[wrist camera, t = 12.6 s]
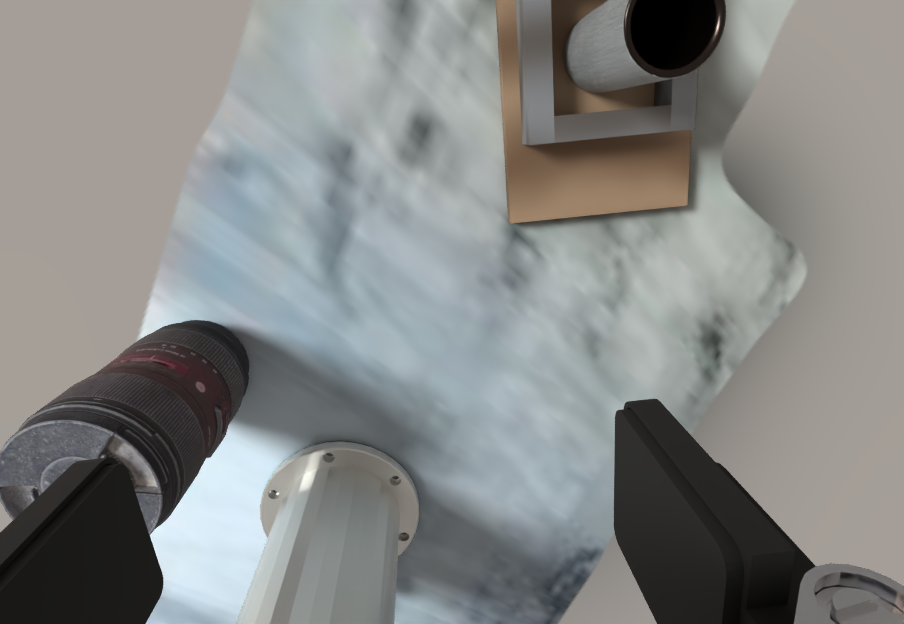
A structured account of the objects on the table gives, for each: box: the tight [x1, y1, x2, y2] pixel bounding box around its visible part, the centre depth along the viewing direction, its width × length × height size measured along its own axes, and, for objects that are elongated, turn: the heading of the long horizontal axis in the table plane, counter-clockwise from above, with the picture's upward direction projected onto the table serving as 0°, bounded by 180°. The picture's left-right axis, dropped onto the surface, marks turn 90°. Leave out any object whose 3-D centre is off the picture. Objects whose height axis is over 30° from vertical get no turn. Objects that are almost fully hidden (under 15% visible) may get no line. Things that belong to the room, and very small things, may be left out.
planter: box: [564, 0, 726, 93], centre depth 28 cm, size 4×4×10 cm
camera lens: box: [0, 320, 249, 535], centre depth 32 cm, size 8×8×15 cm
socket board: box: [496, 0, 698, 223], centre depth 32 cm, size 20×12×4 cm, turn 5°
